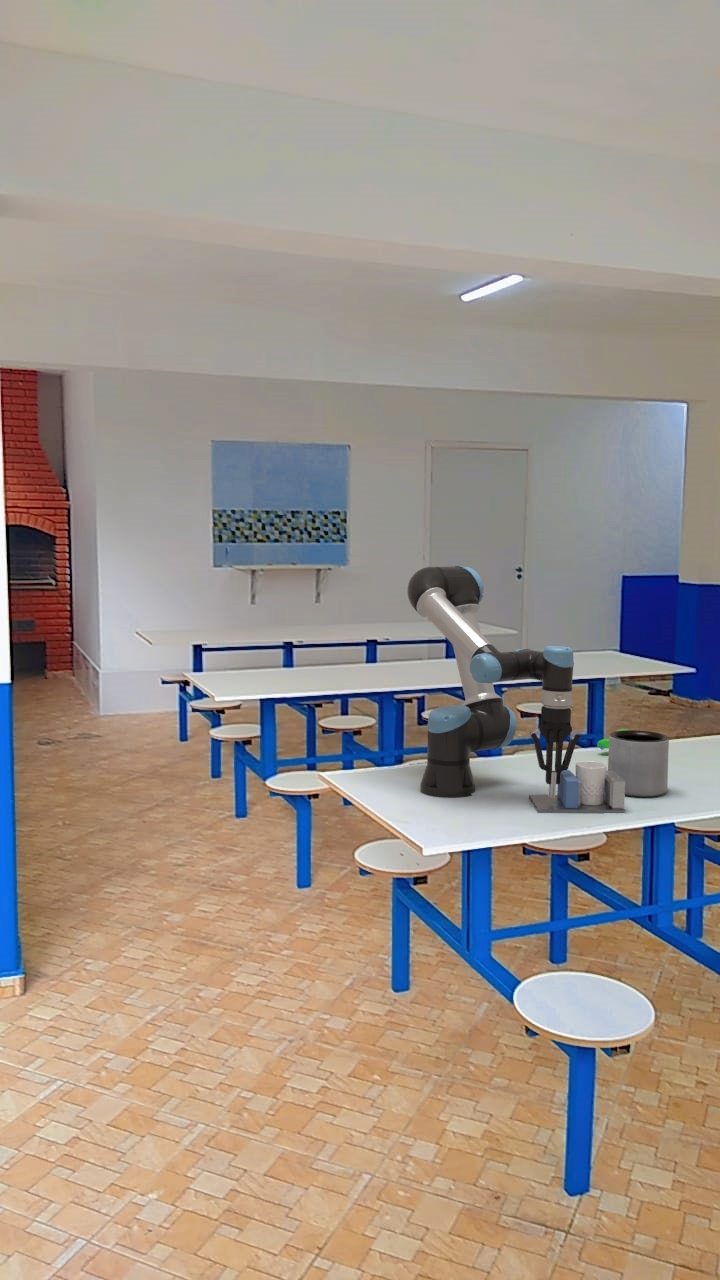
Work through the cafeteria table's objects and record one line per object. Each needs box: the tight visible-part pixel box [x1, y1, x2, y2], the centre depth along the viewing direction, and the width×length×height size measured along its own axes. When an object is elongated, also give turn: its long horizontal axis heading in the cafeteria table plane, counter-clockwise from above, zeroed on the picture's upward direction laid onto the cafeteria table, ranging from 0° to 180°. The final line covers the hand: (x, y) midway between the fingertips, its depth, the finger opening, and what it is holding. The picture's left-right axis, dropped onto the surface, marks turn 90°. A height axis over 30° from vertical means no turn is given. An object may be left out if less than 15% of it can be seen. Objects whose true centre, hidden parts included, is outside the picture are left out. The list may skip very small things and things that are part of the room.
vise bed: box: [528, 794, 626, 815], centre depth 261 cm, size 22×14×1 cm, turn 89°
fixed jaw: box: [603, 769, 626, 809], centre depth 261 cm, size 4×12×7 cm, turn 179°
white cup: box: [575, 760, 608, 805], centre depth 261 cm, size 8×8×10 cm
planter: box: [607, 729, 670, 798], centre depth 276 cm, size 16×16×16 cm
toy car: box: [597, 728, 627, 751], centre depth 330 cm, size 11×7×7 cm, turn 54°
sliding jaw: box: [556, 769, 581, 808], centre depth 261 cm, size 4×12×7 cm, turn 179°
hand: (552, 796), depth 261 cm, fingers closed
